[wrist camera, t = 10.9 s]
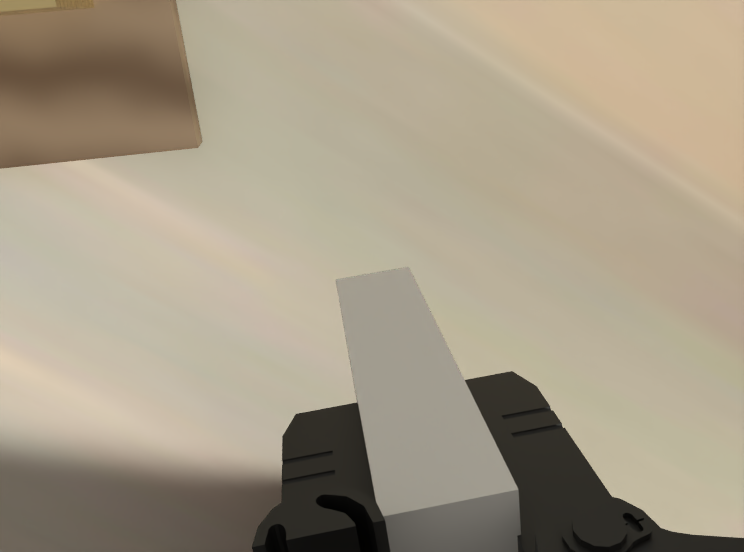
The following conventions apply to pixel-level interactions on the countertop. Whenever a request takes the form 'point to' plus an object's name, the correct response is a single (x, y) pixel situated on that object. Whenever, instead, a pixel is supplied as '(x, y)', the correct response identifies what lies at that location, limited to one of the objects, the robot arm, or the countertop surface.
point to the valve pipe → (41, 6)
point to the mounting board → (94, 83)
